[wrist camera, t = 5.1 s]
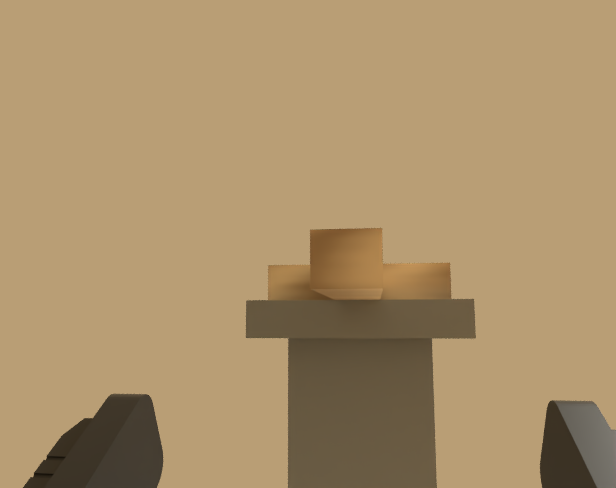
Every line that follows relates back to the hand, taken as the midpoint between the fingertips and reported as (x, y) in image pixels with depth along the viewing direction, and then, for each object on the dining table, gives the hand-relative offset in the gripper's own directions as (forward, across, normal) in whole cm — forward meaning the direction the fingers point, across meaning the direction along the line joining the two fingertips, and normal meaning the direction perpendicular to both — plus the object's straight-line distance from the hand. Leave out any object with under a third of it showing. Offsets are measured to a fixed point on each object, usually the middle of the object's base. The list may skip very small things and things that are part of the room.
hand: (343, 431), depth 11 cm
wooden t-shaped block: (+17, 0, -6) cm, 18 cm away
